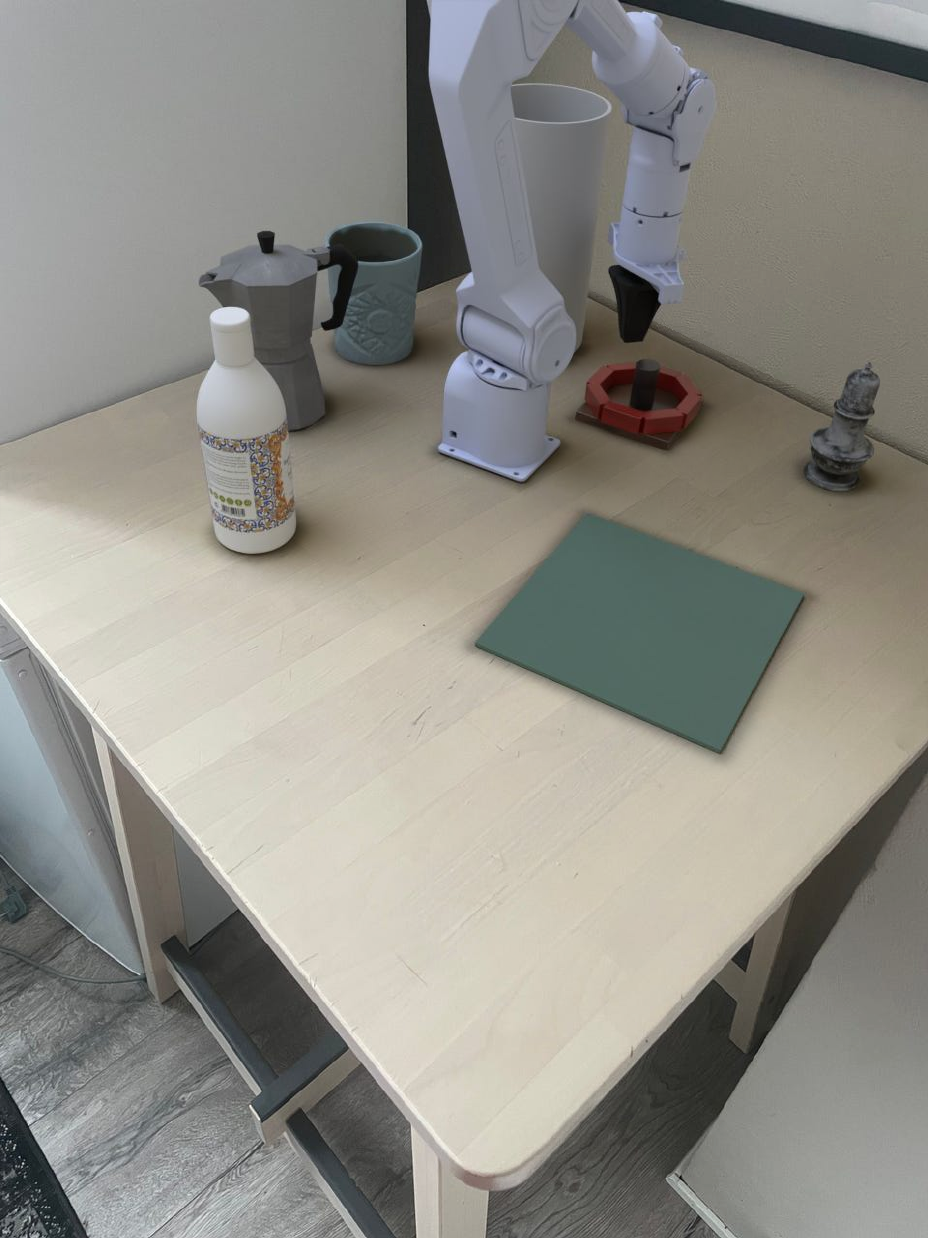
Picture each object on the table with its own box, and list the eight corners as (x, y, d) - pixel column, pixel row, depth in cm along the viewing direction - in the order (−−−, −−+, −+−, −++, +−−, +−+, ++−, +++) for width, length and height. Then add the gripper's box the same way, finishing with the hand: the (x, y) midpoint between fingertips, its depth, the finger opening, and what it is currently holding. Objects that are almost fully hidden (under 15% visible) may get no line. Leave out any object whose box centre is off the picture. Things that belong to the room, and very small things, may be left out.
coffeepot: (236, 448, 98) (212, 265, 86) (203, 401, 104) (176, 224, 92) (381, 410, 104) (378, 234, 92) (342, 368, 110) (334, 198, 98)
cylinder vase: (495, 306, 122) (510, 76, 105) (595, 329, 119) (627, 95, 102) (453, 351, 113) (461, 109, 97) (559, 378, 110) (588, 131, 93)
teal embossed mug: (363, 317, 119) (360, 213, 110) (438, 341, 115) (441, 235, 107) (311, 352, 112) (303, 245, 104) (388, 379, 108) (387, 270, 100)
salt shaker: (865, 497, 96) (908, 383, 88) (801, 488, 97) (837, 373, 89) (860, 463, 100) (900, 351, 92) (799, 454, 101) (833, 342, 93)
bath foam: (293, 557, 86) (272, 338, 73) (209, 556, 86) (173, 336, 72) (300, 507, 91) (281, 294, 78) (221, 506, 91) (189, 292, 77)
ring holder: (574, 419, 104) (581, 371, 100) (615, 378, 111) (622, 331, 107) (666, 450, 101) (676, 401, 97) (702, 406, 107) (713, 358, 103)
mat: (474, 646, 79) (474, 642, 79) (586, 515, 92) (586, 512, 92) (719, 754, 72) (720, 750, 72) (803, 596, 85) (804, 592, 85)
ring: (569, 411, 103) (571, 396, 102) (614, 366, 110) (616, 351, 109) (670, 445, 99) (674, 429, 98) (711, 397, 107) (714, 381, 105)
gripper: (725, 233, 92) (696, 370, 101) (662, 175, 102) (641, 304, 111) (652, 239, 90) (629, 377, 99) (596, 178, 100) (580, 309, 110)
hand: (631, 339), depth 105 cm, fingers closed
